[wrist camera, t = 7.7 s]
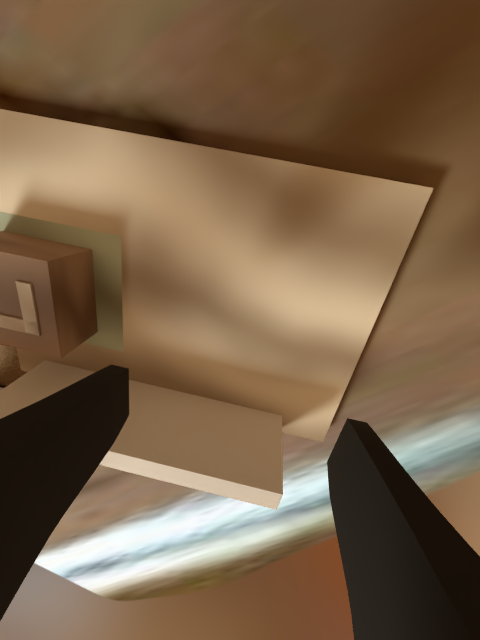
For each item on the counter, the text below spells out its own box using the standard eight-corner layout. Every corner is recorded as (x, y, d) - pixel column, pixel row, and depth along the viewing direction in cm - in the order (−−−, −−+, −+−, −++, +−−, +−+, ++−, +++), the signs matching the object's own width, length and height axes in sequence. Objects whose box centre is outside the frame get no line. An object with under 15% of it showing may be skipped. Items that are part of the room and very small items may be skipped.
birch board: (320, 430, 18) (322, 442, 17) (32, 362, 19) (20, 370, 18) (421, 188, 12) (434, 187, 11) (-18, 108, 13) (-41, 101, 12)
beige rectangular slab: (277, 429, 17) (276, 509, 13) (47, 374, 18) (-29, 432, 14) (282, 415, 17) (282, 494, 12) (45, 360, 18) (-35, 414, 13)
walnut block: (97, 331, 16) (59, 359, 13) (20, 314, 16) (-33, 338, 14) (92, 249, 14) (45, 262, 11) (3, 230, 14) (-64, 238, 12)
